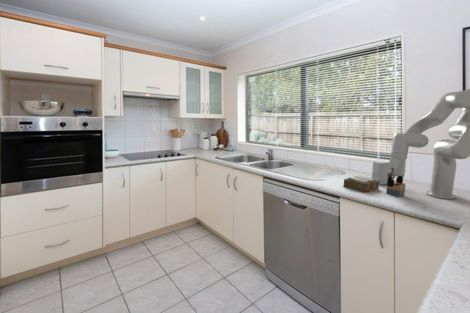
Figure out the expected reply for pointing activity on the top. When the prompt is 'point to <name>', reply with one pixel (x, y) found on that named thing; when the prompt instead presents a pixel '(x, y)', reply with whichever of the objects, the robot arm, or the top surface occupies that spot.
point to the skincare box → (380, 171)
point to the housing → (396, 189)
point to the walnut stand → (361, 183)
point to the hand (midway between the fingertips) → (394, 185)
